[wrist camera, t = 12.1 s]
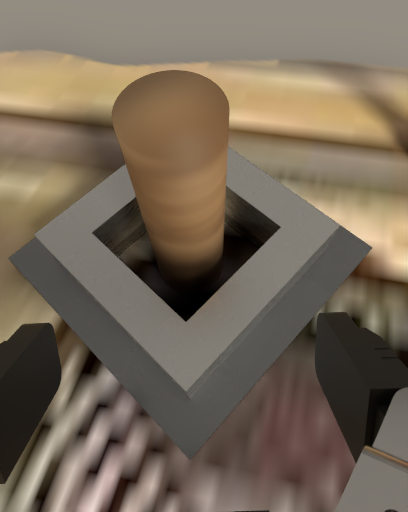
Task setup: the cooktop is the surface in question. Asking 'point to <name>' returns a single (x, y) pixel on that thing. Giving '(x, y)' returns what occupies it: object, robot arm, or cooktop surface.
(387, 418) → the robot arm
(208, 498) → the cooktop surface
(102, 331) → the plate
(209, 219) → the dowel pin
